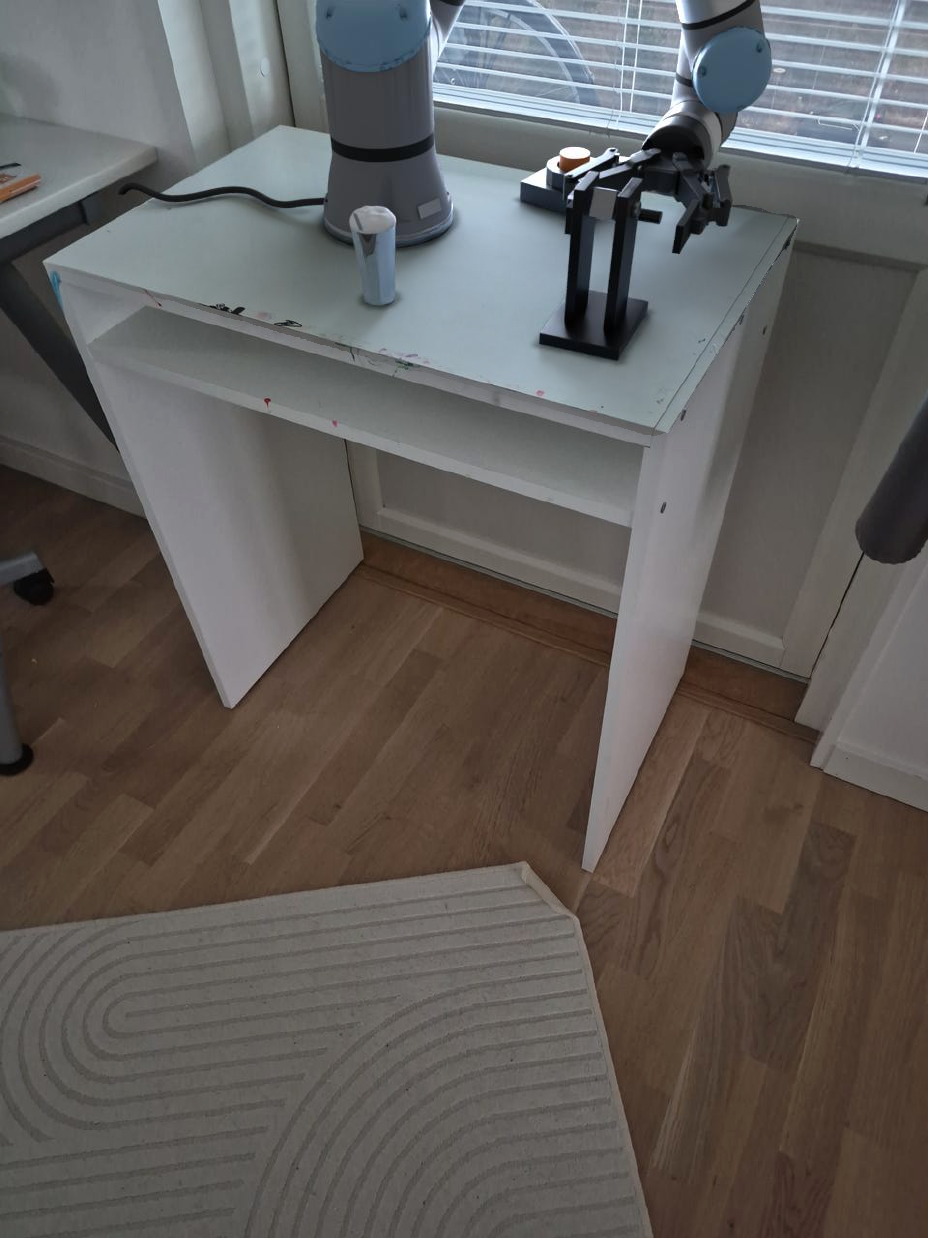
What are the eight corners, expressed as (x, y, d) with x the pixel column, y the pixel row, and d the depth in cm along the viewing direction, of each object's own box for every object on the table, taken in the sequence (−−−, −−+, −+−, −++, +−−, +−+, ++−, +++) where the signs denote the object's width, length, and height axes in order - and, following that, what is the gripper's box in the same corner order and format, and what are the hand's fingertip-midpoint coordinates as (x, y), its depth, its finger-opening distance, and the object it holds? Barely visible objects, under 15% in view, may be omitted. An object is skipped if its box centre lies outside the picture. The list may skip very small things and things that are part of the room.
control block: (519, 199, 108) (520, 165, 106) (557, 178, 113) (559, 145, 110) (587, 220, 104) (590, 185, 101) (624, 198, 108) (628, 163, 105)
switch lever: (607, 222, 91) (612, 196, 90) (659, 230, 90) (664, 205, 89) (570, 213, 79) (576, 183, 78) (629, 223, 77) (636, 193, 76)
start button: (553, 169, 106) (553, 153, 104) (570, 159, 107) (571, 144, 106) (578, 176, 104) (579, 160, 103) (594, 166, 106) (596, 151, 105)
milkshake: (345, 307, 91) (333, 208, 84) (371, 284, 95) (362, 187, 87) (384, 316, 90) (375, 217, 83) (409, 292, 93) (402, 195, 86)
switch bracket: (572, 297, 92) (583, 156, 82) (647, 311, 90) (668, 169, 80) (538, 344, 86) (546, 198, 76) (617, 361, 84) (636, 213, 73)
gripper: (773, 199, 100) (730, 287, 86) (581, 170, 106) (513, 247, 93) (790, 127, 94) (747, 209, 81) (586, 101, 101) (515, 173, 87)
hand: (622, 230), depth 87 cm, fingers open, 10 cm apart
